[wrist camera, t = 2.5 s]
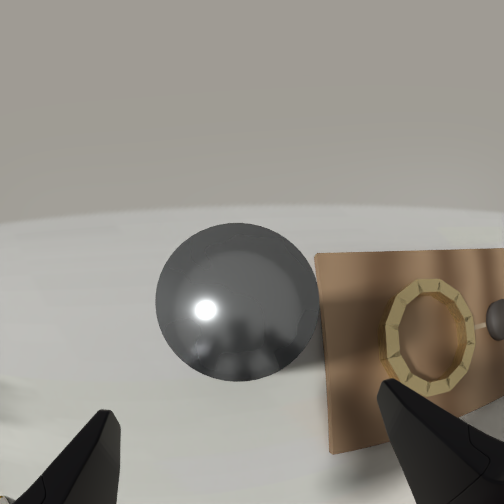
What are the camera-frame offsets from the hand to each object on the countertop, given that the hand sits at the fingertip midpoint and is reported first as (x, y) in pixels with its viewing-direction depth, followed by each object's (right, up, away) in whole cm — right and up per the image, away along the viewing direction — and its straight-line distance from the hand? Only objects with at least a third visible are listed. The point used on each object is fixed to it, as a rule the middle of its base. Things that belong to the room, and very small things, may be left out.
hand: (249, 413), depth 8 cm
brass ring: (+13, -1, +10) cm, 17 cm away
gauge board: (+15, -2, +11) cm, 19 cm away
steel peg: (-1, -1, +11) cm, 11 cm away
